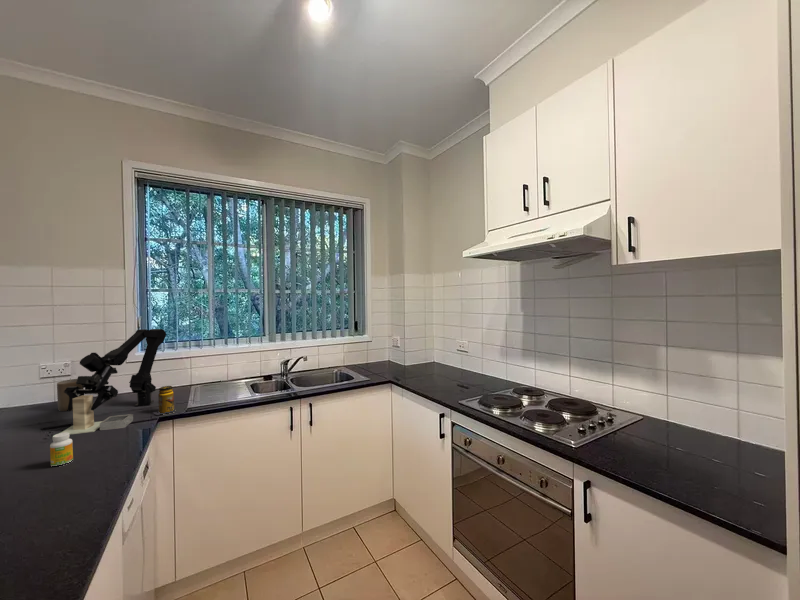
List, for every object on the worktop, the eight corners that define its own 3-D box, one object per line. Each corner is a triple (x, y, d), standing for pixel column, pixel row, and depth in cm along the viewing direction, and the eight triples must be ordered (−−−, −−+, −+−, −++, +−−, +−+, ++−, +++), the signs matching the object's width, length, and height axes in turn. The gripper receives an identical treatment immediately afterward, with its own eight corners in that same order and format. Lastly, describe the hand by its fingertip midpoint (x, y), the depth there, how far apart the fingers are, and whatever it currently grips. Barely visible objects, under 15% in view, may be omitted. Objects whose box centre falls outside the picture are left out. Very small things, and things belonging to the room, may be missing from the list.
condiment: (176, 411, 164) (175, 387, 164) (154, 416, 158) (154, 390, 158) (173, 408, 169) (172, 384, 169) (152, 412, 163) (151, 387, 163)
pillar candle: (87, 406, 173) (86, 377, 173) (61, 412, 165) (60, 381, 165) (80, 404, 178) (79, 375, 178) (54, 409, 170) (53, 379, 170)
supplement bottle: (53, 469, 111) (52, 439, 111) (48, 464, 114) (47, 435, 114) (75, 461, 116) (74, 433, 116) (70, 458, 119) (69, 430, 119)
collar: (109, 423, 151) (109, 416, 151) (133, 420, 153) (132, 413, 153) (99, 430, 143) (99, 423, 143) (124, 427, 145) (124, 420, 145)
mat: (74, 425, 149) (74, 424, 149) (108, 421, 153) (108, 420, 153) (56, 436, 138) (56, 435, 138) (93, 431, 141) (93, 430, 141)
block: (83, 425, 147) (81, 395, 147) (94, 425, 148) (92, 395, 147) (73, 429, 143) (72, 398, 142) (85, 429, 143) (83, 398, 143)
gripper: (66, 368, 148) (42, 401, 137) (112, 367, 149) (91, 400, 138) (83, 381, 156) (61, 414, 145) (126, 380, 157) (107, 412, 146)
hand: (80, 410), depth 144 cm, fingers open, 9 cm apart
